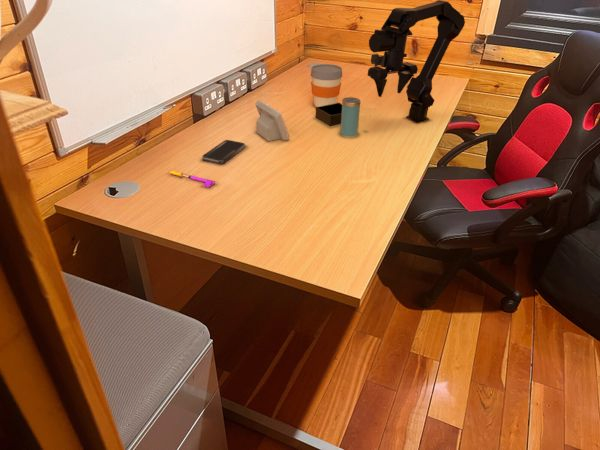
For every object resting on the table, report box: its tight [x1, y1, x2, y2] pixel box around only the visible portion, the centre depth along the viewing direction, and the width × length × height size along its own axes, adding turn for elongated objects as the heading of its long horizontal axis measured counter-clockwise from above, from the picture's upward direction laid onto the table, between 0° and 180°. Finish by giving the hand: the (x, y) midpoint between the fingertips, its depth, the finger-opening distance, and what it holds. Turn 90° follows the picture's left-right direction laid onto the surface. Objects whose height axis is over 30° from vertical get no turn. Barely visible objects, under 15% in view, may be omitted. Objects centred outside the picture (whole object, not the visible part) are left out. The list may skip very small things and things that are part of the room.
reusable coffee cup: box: [310, 63, 343, 108], centre depth 188 cm, size 13×13×15 cm
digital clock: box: [255, 100, 290, 142], centre depth 163 cm, size 16×9×11 cm, turn 20°
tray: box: [315, 102, 342, 127], centre depth 177 cm, size 11×10×4 cm
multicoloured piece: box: [169, 170, 216, 189], centre depth 137 cm, size 3×1×16 cm
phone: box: [202, 139, 246, 165], centre depth 152 cm, size 8×1×15 cm
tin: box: [339, 96, 361, 138], centre depth 164 cm, size 6×6×12 cm
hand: (389, 95), depth 167 cm, fingers open, 9 cm apart
